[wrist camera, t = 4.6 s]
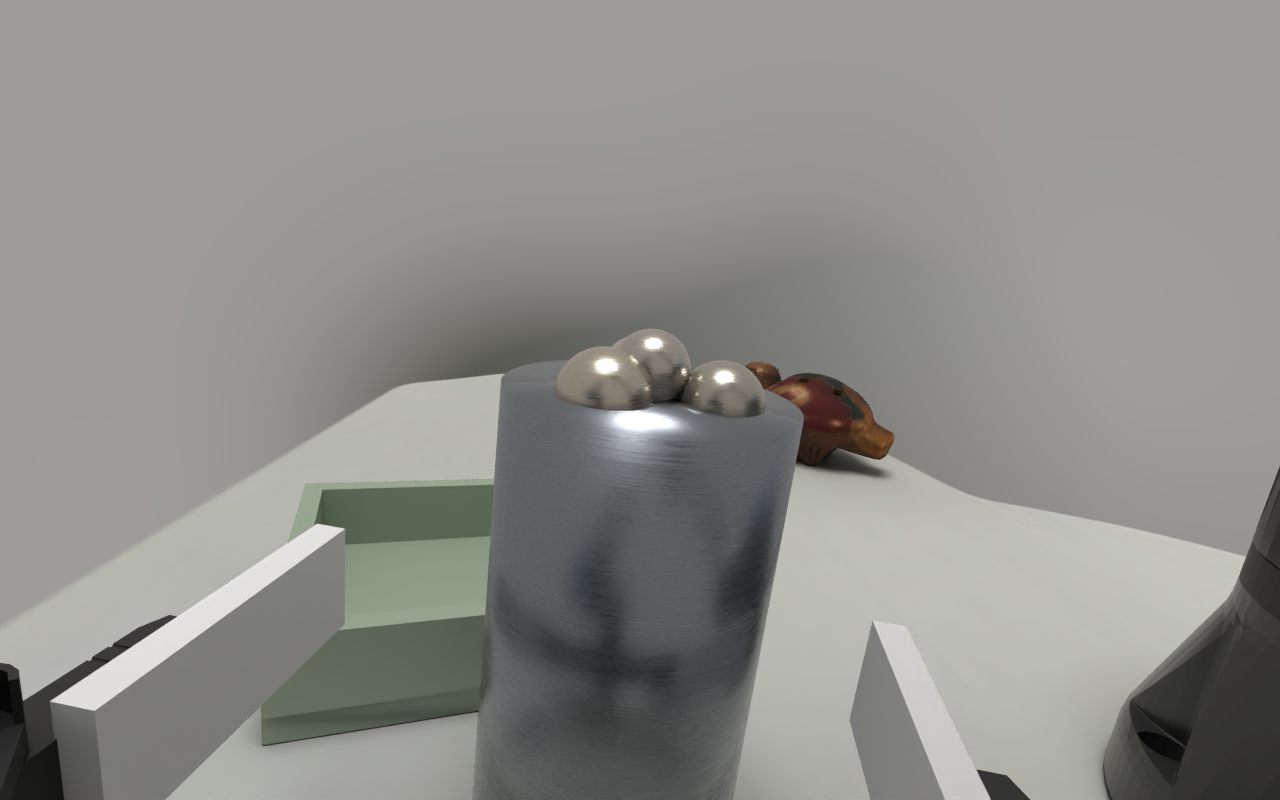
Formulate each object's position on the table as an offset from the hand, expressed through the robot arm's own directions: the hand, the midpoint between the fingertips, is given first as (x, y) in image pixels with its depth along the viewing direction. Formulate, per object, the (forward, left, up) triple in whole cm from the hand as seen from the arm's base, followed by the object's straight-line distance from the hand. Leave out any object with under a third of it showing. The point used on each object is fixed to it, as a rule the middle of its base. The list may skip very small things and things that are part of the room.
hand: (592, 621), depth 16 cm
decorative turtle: (-32, -34, -9) cm, 47 cm away
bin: (+2, -13, -8) cm, 16 cm away
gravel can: (-1, 0, -8) cm, 8 cm away
